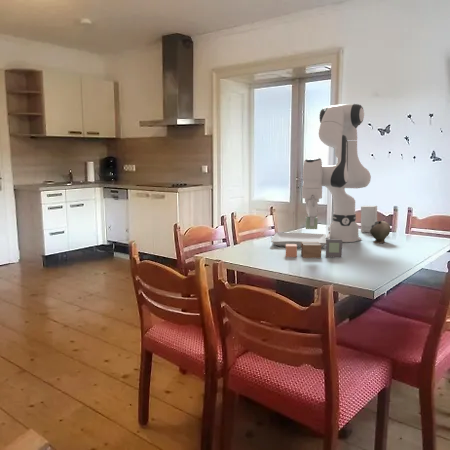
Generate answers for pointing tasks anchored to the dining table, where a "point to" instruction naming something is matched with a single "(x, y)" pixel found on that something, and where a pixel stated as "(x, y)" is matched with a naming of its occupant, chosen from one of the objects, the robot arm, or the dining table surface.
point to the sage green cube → (307, 224)
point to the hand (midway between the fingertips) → (311, 224)
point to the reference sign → (333, 248)
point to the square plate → (297, 238)
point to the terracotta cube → (291, 250)
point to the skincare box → (368, 217)
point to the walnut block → (311, 249)
